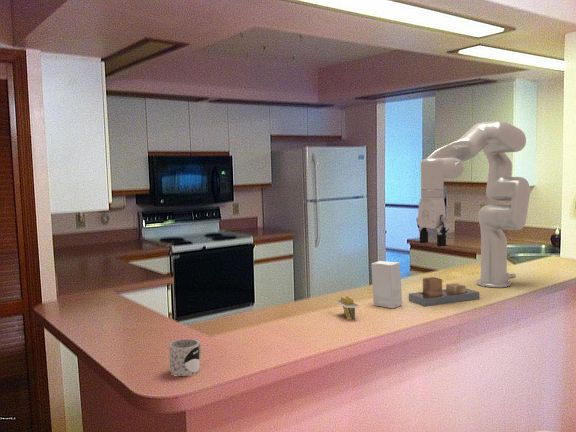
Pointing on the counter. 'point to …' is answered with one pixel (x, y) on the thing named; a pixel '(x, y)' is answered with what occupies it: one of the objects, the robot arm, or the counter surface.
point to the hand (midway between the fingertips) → (432, 244)
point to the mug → (184, 357)
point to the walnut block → (432, 287)
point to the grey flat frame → (443, 297)
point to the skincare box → (386, 284)
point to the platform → (348, 307)
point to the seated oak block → (455, 288)
